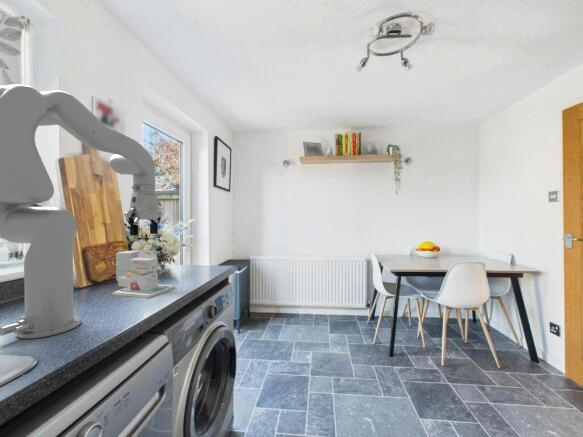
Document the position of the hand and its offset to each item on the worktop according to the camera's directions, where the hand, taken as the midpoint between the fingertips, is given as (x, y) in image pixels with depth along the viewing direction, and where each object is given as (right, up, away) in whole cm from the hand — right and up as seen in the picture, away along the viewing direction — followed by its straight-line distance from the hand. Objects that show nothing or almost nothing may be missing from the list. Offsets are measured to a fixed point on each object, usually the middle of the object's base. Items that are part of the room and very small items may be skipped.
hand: (144, 234), depth 105 cm
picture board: (0, -22, 0) cm, 22 cm away
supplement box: (-18, -22, +21) cm, 35 cm away
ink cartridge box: (0, -21, 0) cm, 21 cm away
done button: (-11, -19, +10) cm, 24 cm away
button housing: (-11, -22, +11) cm, 26 cm away
